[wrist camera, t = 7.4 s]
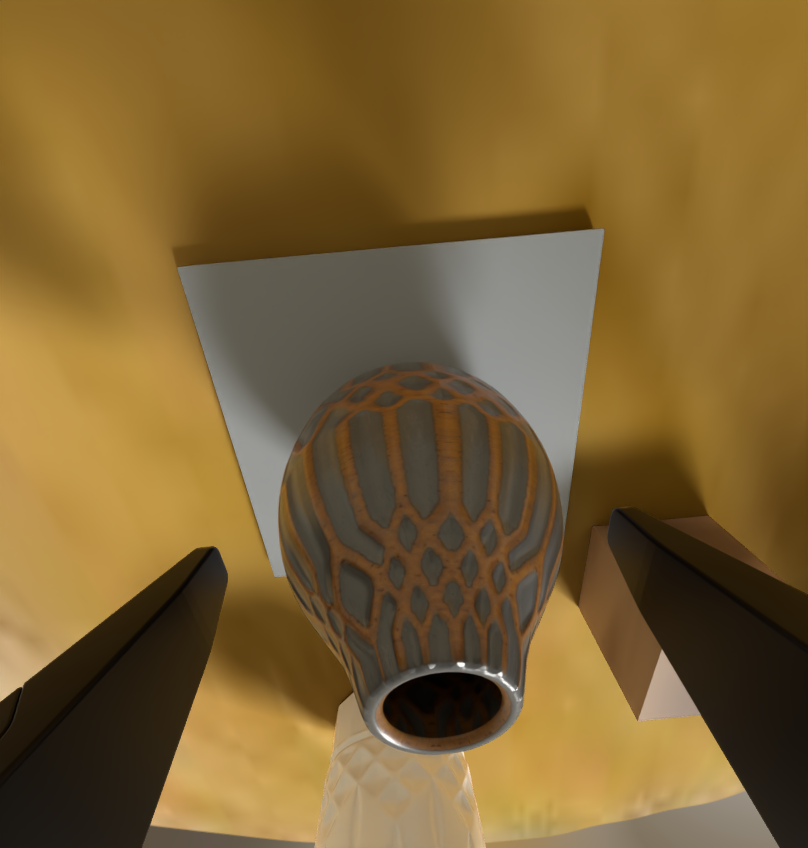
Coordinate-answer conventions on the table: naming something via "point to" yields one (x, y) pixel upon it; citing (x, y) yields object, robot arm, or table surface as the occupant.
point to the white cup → (393, 794)
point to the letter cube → (643, 623)
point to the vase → (423, 550)
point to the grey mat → (395, 337)
